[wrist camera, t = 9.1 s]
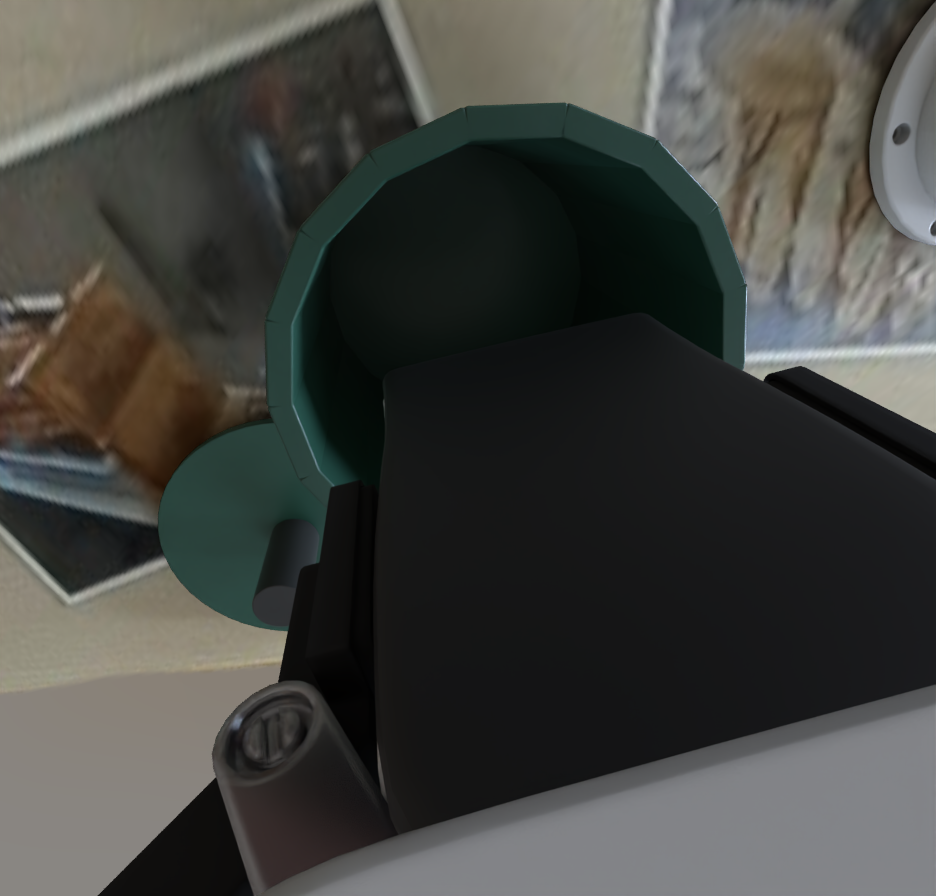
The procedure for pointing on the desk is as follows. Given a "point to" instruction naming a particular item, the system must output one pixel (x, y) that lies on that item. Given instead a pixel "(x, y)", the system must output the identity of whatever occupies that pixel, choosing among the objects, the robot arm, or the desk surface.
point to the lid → (241, 525)
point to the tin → (484, 265)
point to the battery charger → (625, 565)
